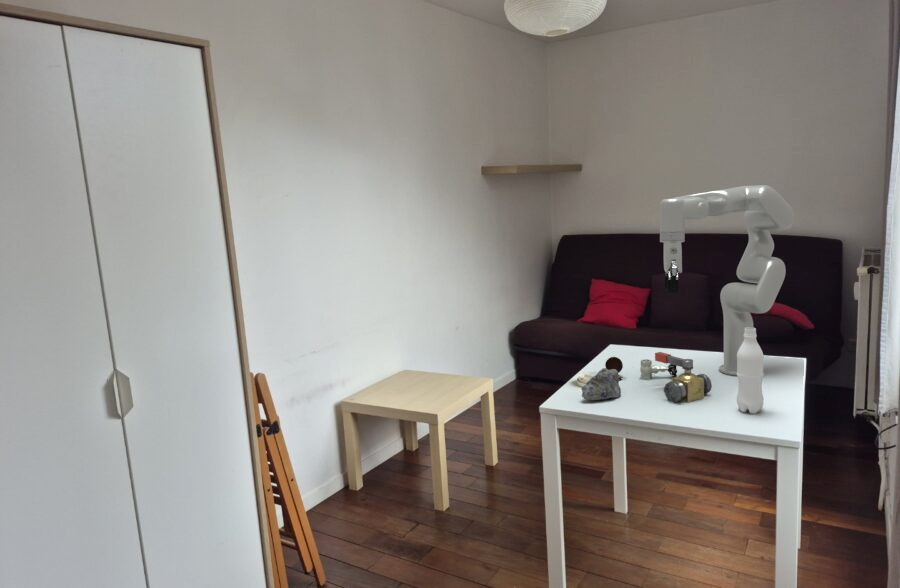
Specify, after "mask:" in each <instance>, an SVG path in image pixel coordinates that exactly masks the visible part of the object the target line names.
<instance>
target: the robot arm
mask: <svg viewBox="0 0 900 588" xmlns="http://www.w3.org/2000/svg"><path fill="white" fill-rule="evenodd" d="M659 207H660V212H659V219H660V220H659V243H663V269H664V272H665V276H664V288H665V289H667V292H668V293H678V292H679V274H682V273H683V256H682V255H683V251H682V250H683V248H682V243H685V241H686V240H685V238H686V237H685V233H686V230H685V229H686V221H687V222H688V221H689V222H690V221H691V222H692V221H694V222H696V221H697V222H698V221H701V220H703V219H705V218H706V217H718V216H721V217H722V216H728V215H731V214H736V213H741V212H742V213H743V212H744V217H743V219H744V220H743V221H744V225H745V227H746V229H747V234H748V242H747V246H746V247H745V250H744V252H743V255H742V257H741V259H740V261H739V262H738V263H739V264H738V265H737V268H736V276H737V279H739V280H741V281H742V282H730V283H727V284H726V285H724V286H723V287H722V288H721V291H720V295H719V297H720V303H721V308H722V315H723V316H722V317H723V364H721V365H720V366H719V367H718V370H719V372H720V373H722V374H725V375H728V376H729V375H730V376H737V352H738V350H739V348H740V346H741V345H742V343H743V341H744V333H745V332H744V331H745V328H747V327H753V328H754V320H753V316H752V314H765V313H767V312H768V311H769V310H771V308H772V307H773V305H774V303H775V301H776V298H777V296H778V294H779V292H780V290H781V287H782V285H783V283H784V280H785V277H786V273H787V272H786V265H785V262H784V261H783V259H781V258H778V257H775V256H772V255H773V252H774V250H775V243H774V242H775V241H774V240H773V237H772V234H771V233H770V232H771V231H784V230H785V231H786V230H789V228H791V227H792V226H793V224H794V222H795V212H794V210H793V208H792V207H791V205H790V204H789V203H788V202H787V201H786V200H785V199H784V198H783V197H782V195H781V194H780V193H779V192H778V191H777V190H775V189H774V188H773V187H772V186H769V185H768V184H767V185H765V184H761V185H759V184H758V185H742V186H737V187H731V188H725V189H720V190H712V191H707V192H700V193H695V194H687V195H681V196H676V197H672V198H664V199H662V200H661V201H660V205H659ZM678 273H679V274H678ZM751 313H752V314H751Z"/></svg>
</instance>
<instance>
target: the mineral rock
mask: <svg viewBox="0 0 900 588" xmlns="http://www.w3.org/2000/svg"><path fill="white" fill-rule="evenodd" d="M618 376H619V373H618V372H617V370H615V369H612V370H608V369H606V367H604V368H602V369H601V370H599V371H598V372H597V373H596V374H595V375H594V376H592V377H591V378H590V379H589V380H588V381H586V383H585V384H584V385H582V387H581V392H582V394H581V397H582V398H583V399H584V400H590V401H601V400H606V399H611V398H620V397H621V395H622V392H621V391H622V389H621V386H620V385H619V383H620V382H619V381H620V380H619V378H618Z"/></svg>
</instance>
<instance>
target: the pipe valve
mask: <svg viewBox="0 0 900 588" xmlns="http://www.w3.org/2000/svg"><path fill="white" fill-rule="evenodd" d="M683 370H684V371H683V372H682V373H680V374H679V375H677V377H675V378H673V377H672V378H671V381H669V382H667V383H665V385H664V388H663V391H664V392H663V393H664V396H665V397H666V399H667V400H668V401H669V402H671V403H673V404H674V403H677V402H680V401H682V402H685V403H690V402H694V401H698V400H701V399H704V398H705V394H708V393H711V390H712V387H713V386H712V385H713V384H712V380H711V379H710V377H709V376H708V375H707V374H704V373H699V374H695V373H693V372H692V369H691V370H686V369H683Z"/></svg>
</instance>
